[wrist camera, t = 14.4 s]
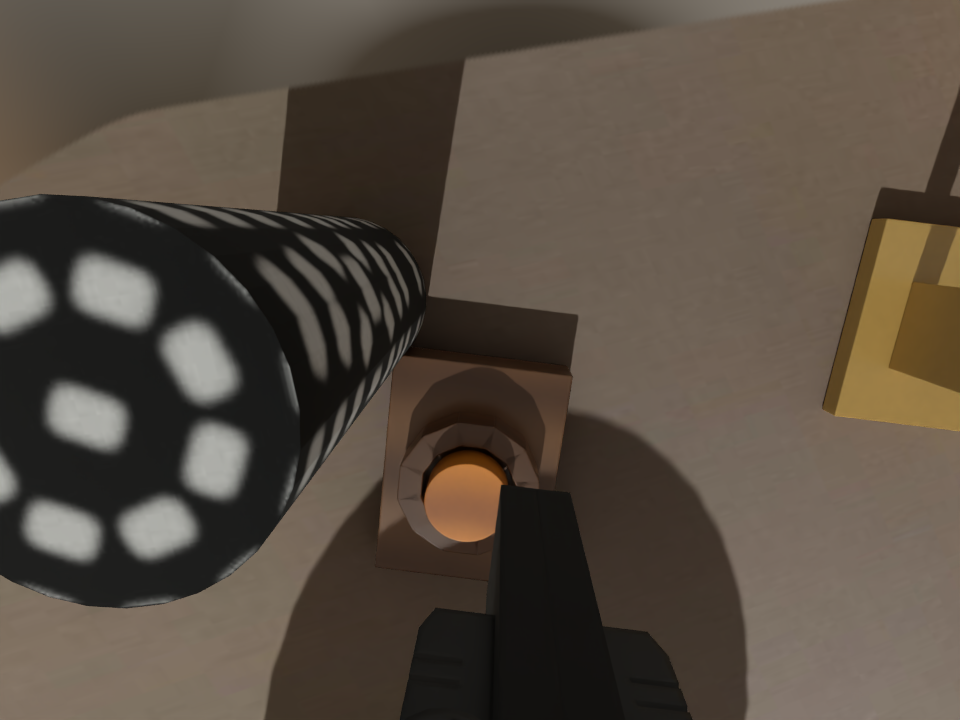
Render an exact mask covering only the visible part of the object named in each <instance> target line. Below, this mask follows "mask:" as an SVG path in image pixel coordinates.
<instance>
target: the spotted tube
mask: <svg viewBox="0 0 960 720" xmlns="http://www.w3.org/2000/svg"><path fill="white" fill-rule="evenodd" d="M425 310H426V292H425V286H424V280H423V277H422V274H421V271H420V269H419V266H418V264H417V262H416V260H415V259H414V257H413V256H412V254H411V252H410V251H409V250H408V248H407V247H406V246H405V245H404V244H403V243H402V242H401V241H400V240H399V239H398V238H397V237H396V236H394V235H393V234H392V233H390V232H389V231H388V230H386V229H385V228H383V227H381V226H378V225H376V224H374V223H372V222H369V221H366V220H362V219H358V218H350V217H338V216H325V215H313V214H300V213H288V212H275V211H263V210H250V209H238V208H225V207H213V206H200V205H188V204H175V203H163V202H150V201H138V200H125V199H112V198H100V197H87V196H68V195H48V194H38V195H32V196H26V197H20V198H14V199H8V200H2V201H0V575H2V576H3V577H5V578H7V579H8V580H10V581H12V582H14V583H17V584H19V585H22V586H24V587H26V588H29V589H31V590H34V591H36V592H38V593H41V594H43V595H46V596H48V597H52V598H56V599H60V600H65V601H69V602H73V603H77V604H81V605H86V606H97V607H113V608H133V607H142V606H150V605H159V604H165V603H168V602H171V601H174V600H178V599H181V598H184V597H187V596H190V595H193V594H197V593H199V592H201V591H203V590H205V589H206V588H208V587H210V586H212V585H214V584H215V583H217V582H219V581H221V580H222V579H224V578H226V577H228V576H230V575H231V574H232V573H233V572H234V571H236V570H237V569H238V568H239V567H240V566H241V565H242V564H243V563H245V562H246V561H247V560H248V559H249V558H250V557H251V556H253V555H254V554H255V553H256V552H257V551H258V550H259V548H260V547H261V546H262V544H263V543H264V542H265V540H266V539H267V538H268V536H269V535H270V534H271V532H272V531H273V530H274V528H275V527H276V526H277V524H278V523H279V521H280V520H281V519H282V517H283V516H284V515H285V513H286V512H287V511H288V509H289V508H290V507H291V505H292V504H293V503H294V501H295V500H296V499H297V497H298V496H299V495H300V493H301V492H302V491H303V489H304V488H305V487H306V485H307V484H308V483H309V481H310V480H311V479H312V477H313V476H314V475H315V473H316V472H317V471H318V469H319V468H320V467H321V465H322V464H323V463H324V461H325V460H326V459H327V457H328V456H329V454H330V453H331V452H332V450H333V449H334V448H335V446H336V445H337V444H338V442H339V441H340V440H341V438H342V437H343V436H344V434H345V433H346V432H347V430H348V429H349V428H350V426H351V425H352V424H353V422H354V421H355V420H356V418H357V417H358V416H359V414H360V413H361V412H362V410H363V409H364V408H365V406H366V405H367V404H368V402H369V401H370V400H371V398H372V397H373V396H374V394H375V393H376V392H377V390H378V389H379V388H380V386H381V385H382V383H383V382H384V381H385V379H386V378H387V377H388V375H389V374H390V373H391V371H392V370H393V369H394V367H395V366H396V365H397V363H398V362H399V361H400V359H401V358H402V357H403V355H404V354H405V353H406V351H407V350H408V349H409V347H410V346H411V344H412V343H413V342H414V340H415V339H416V337H417V335H418V333H419V331H420V328H421V326H422V323H423V319H424V315H425Z"/></svg>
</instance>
